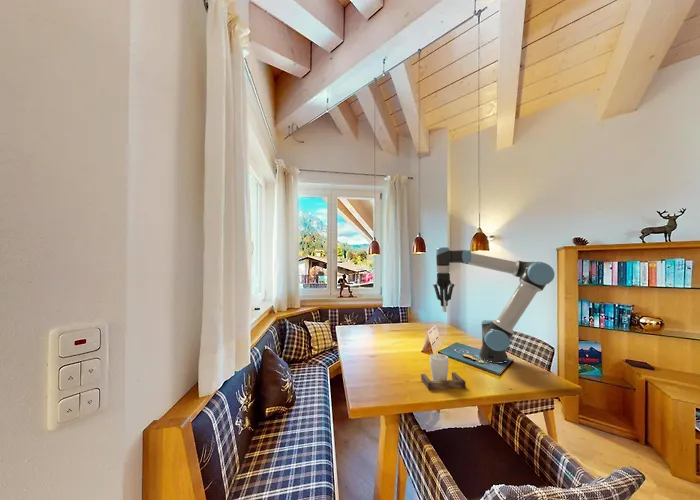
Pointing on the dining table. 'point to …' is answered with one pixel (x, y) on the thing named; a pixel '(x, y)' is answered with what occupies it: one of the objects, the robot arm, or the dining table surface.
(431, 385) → the walnut pocket
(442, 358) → the cup
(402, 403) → the dining table surface
